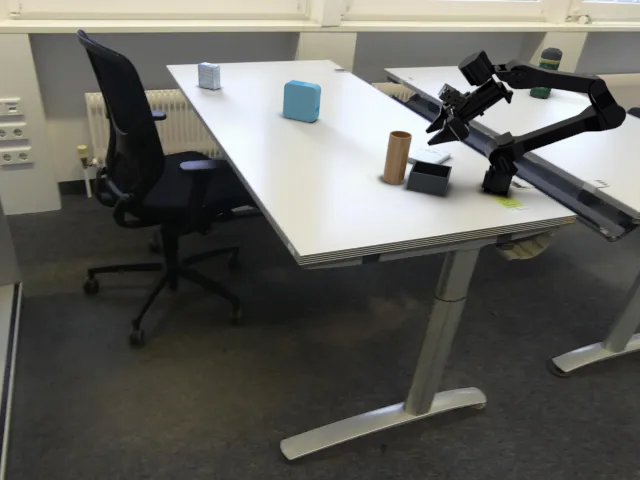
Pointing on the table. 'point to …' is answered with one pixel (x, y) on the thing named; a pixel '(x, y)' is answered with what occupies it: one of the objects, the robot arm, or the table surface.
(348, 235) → the table surface
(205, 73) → the medicine box
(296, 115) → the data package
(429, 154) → the hard drive
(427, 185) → the bin
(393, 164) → the cup
